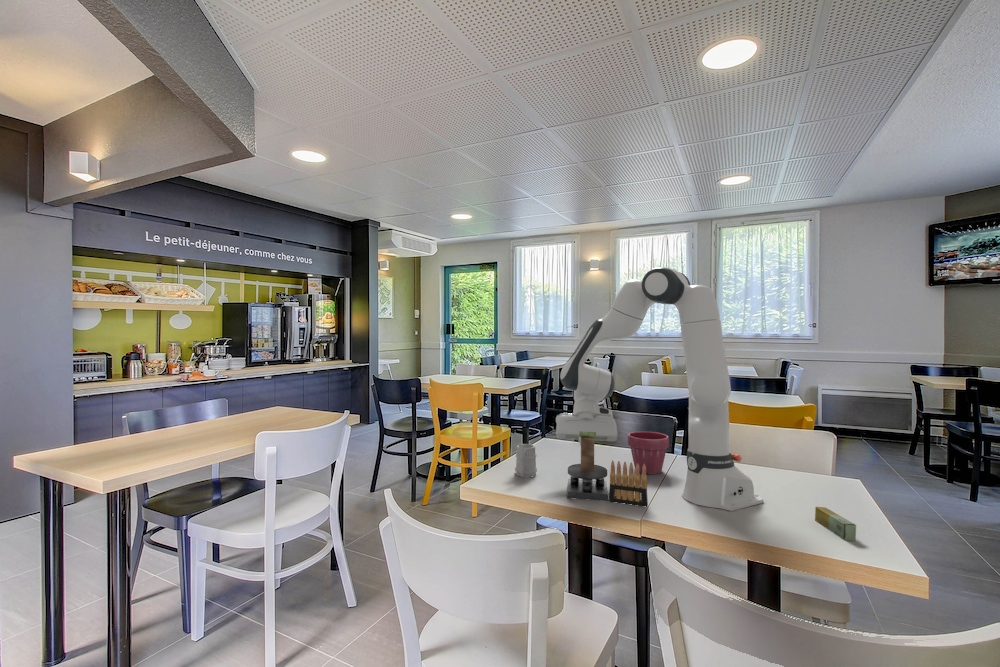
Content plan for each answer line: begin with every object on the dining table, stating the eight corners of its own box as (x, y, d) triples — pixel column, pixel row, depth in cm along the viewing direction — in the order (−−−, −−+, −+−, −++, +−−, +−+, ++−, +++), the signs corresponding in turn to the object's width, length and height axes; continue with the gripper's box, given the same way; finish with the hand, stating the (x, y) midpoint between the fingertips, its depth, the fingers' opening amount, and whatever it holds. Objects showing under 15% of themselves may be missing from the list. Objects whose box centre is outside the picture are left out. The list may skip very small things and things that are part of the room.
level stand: (606, 487, 145) (606, 470, 145) (608, 501, 133) (608, 482, 133) (568, 485, 147) (568, 468, 147) (566, 498, 135) (567, 480, 135)
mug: (539, 472, 161) (539, 438, 161) (531, 482, 150) (531, 445, 150) (518, 470, 163) (518, 436, 163) (509, 480, 152) (509, 444, 152)
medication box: (856, 541, 108) (857, 525, 108) (844, 541, 108) (845, 524, 108) (824, 521, 120) (825, 506, 120) (813, 520, 120) (814, 505, 120)
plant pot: (622, 465, 170) (622, 430, 170) (658, 464, 171) (659, 430, 171) (635, 476, 156) (636, 439, 156) (675, 476, 157) (675, 439, 157)
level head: (606, 468, 145) (606, 428, 145) (608, 480, 133) (608, 437, 133) (568, 466, 147) (568, 426, 147) (567, 478, 135) (567, 435, 135)
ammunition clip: (608, 501, 133) (609, 460, 133) (609, 499, 134) (609, 459, 134) (647, 507, 128) (647, 464, 129) (647, 505, 130) (647, 463, 130)
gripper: (555, 408, 157) (553, 443, 147) (616, 410, 153) (618, 446, 143) (556, 418, 161) (554, 453, 151) (615, 421, 157) (617, 456, 148)
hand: (586, 450), depth 147 cm, fingers closed
